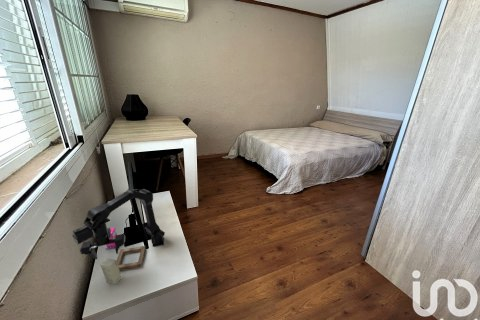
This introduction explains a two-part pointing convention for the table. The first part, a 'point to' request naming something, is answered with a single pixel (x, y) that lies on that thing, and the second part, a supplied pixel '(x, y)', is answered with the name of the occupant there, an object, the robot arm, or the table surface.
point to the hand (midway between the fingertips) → (107, 256)
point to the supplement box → (113, 235)
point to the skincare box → (111, 271)
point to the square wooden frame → (130, 251)
